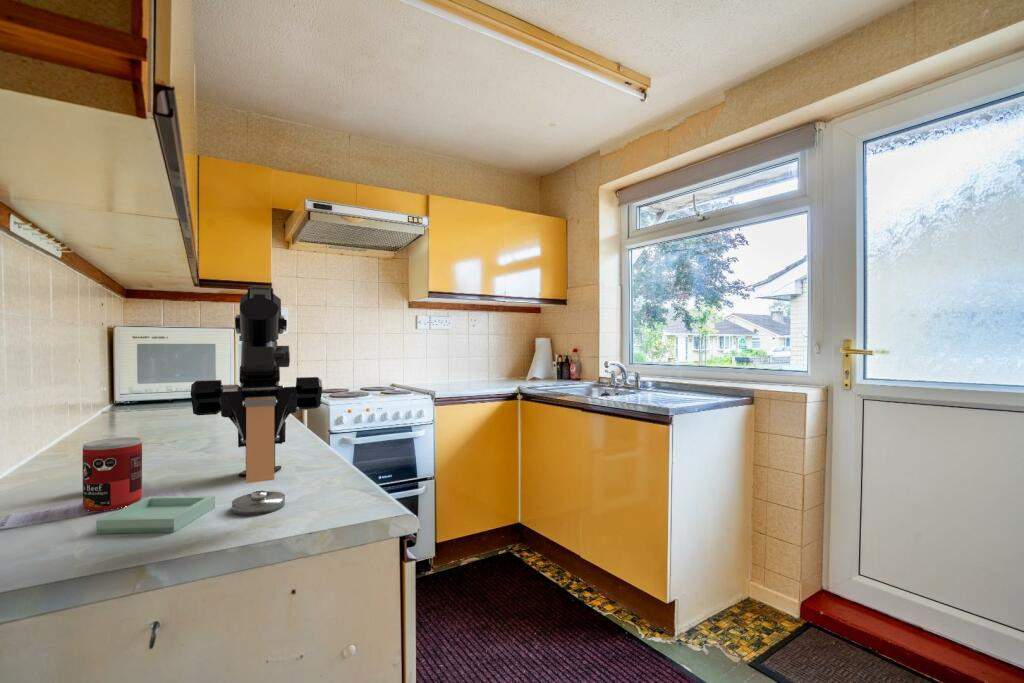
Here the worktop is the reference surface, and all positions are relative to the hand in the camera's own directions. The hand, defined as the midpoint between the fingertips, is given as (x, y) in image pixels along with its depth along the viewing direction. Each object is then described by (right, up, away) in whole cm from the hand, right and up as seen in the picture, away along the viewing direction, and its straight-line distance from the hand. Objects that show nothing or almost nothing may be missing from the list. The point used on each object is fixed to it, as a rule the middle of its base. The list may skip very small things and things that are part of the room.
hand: (260, 437), depth 75 cm
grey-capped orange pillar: (-1, -7, +1) cm, 7 cm away
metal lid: (-4, -13, +8) cm, 16 cm away
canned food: (-31, -14, +10) cm, 35 cm away
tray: (-17, -13, +3) cm, 22 cm away
